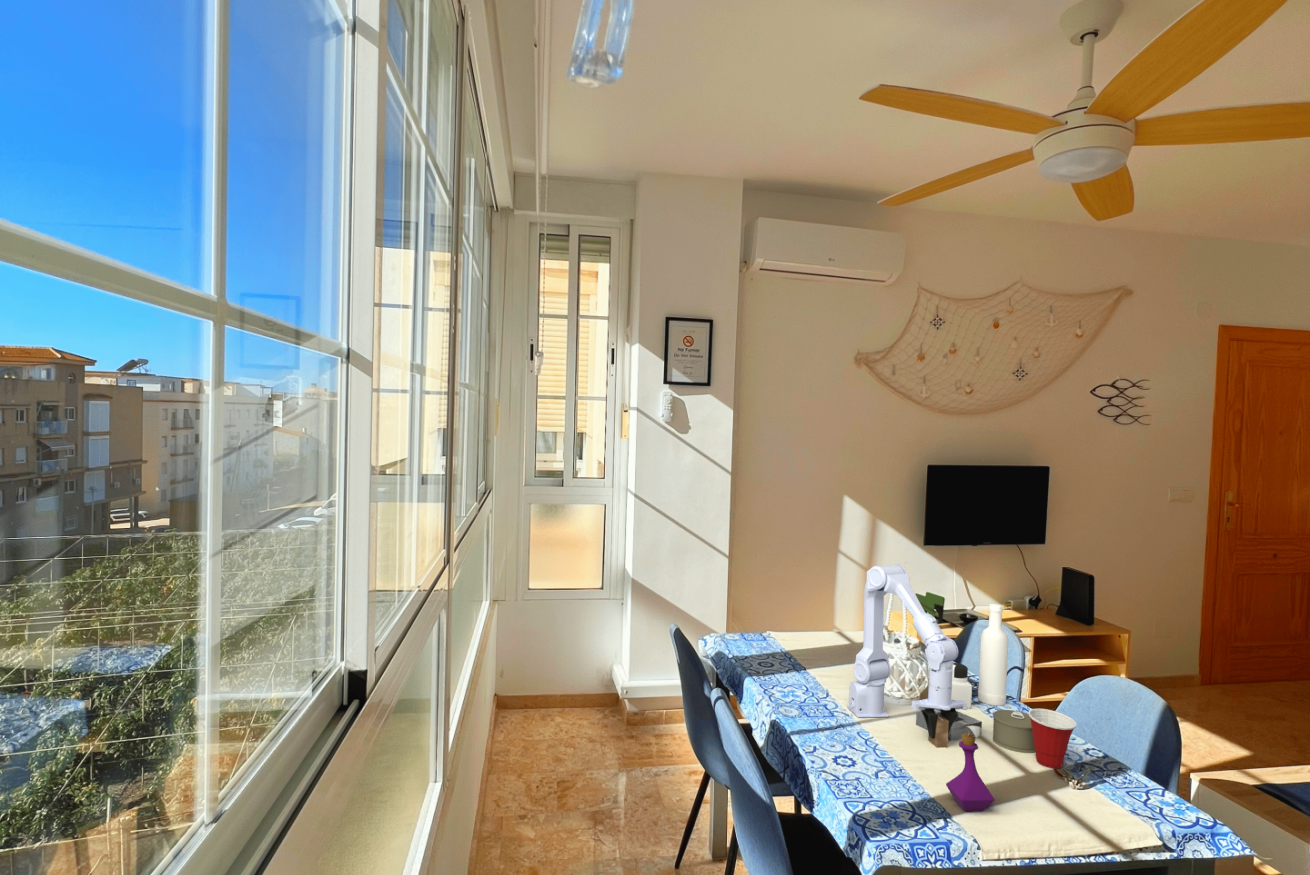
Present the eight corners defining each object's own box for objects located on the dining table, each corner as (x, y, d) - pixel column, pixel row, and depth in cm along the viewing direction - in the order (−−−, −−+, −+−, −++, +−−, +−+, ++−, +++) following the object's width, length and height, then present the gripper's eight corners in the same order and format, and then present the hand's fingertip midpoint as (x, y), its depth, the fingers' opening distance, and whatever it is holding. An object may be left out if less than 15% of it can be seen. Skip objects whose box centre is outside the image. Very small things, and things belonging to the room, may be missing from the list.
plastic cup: (1056, 777, 180) (1058, 727, 180) (1016, 758, 190) (1018, 711, 190) (1084, 769, 185) (1086, 721, 185) (1044, 751, 195) (1046, 706, 195)
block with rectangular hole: (950, 741, 199) (951, 727, 199) (915, 724, 210) (916, 711, 210) (981, 734, 205) (981, 720, 205) (945, 718, 215) (946, 705, 215)
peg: (936, 747, 195) (937, 720, 195) (928, 740, 199) (929, 713, 199) (947, 747, 195) (948, 720, 195) (938, 740, 200) (939, 713, 200)
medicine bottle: (963, 700, 231) (965, 661, 231) (971, 708, 224) (973, 669, 224) (940, 698, 232) (941, 660, 232) (946, 707, 225) (948, 667, 224)
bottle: (1010, 706, 227) (1014, 608, 227) (984, 705, 227) (988, 607, 227) (998, 697, 235) (1003, 602, 235) (973, 696, 235) (977, 601, 235)
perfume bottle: (944, 798, 168) (948, 718, 167) (976, 797, 168) (980, 718, 168) (961, 815, 160) (965, 732, 160) (994, 815, 161) (998, 732, 161)
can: (991, 747, 197) (992, 721, 197) (992, 731, 207) (993, 706, 207) (1042, 757, 191) (1043, 730, 191) (1041, 740, 202) (1042, 715, 202)
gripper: (921, 691, 192) (919, 743, 192) (974, 690, 194) (972, 742, 194) (908, 681, 199) (906, 732, 199) (959, 681, 201) (957, 731, 201)
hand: (938, 736), depth 197 cm, fingers closed on peg, 3 cm apart
